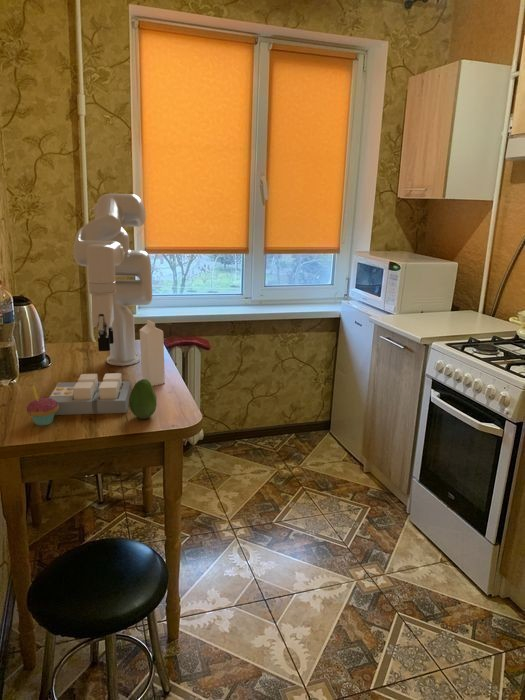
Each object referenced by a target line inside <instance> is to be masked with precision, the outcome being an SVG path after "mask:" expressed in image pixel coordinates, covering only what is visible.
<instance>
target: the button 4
mask: <svg viewBox="0 0 525 700" xmlns="http://www.w3.org/2000/svg"><path fill="white" fill-rule="evenodd" d="M100 382H101V385H100V387H99V394H100V399H118V398H119V385H118V382H103V381H100Z"/></svg>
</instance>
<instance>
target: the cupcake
mask: <svg viewBox="0 0 525 700" xmlns="http://www.w3.org/2000/svg"><path fill="white" fill-rule="evenodd" d="M31 386H32V387H31V388H32V391H33V394H34V397H35V399H33V400H31V401H30V402H29V403H28V404H27V406H26V407H25V409H26V412H27V414H28V415H29V416H31V418H32V420H33V422H34V424H35V425H36V426H48V425H50V424H52V423H53V422H54V417H55V415H54V414H55V413H56V412H57V411H58V410H59V405H58V402H56V401H55V400H54V399H51V398H49V397H39V396H38V393H37V389H36V387H35V385H34V384H33V383H31Z"/></svg>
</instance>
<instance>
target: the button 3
mask: <svg viewBox="0 0 525 700" xmlns="http://www.w3.org/2000/svg"><path fill="white" fill-rule="evenodd" d="M122 380H123V379H122V373H121V372H120V373H119V372H116V373H113V372H112V373H111V372H110V373H105V374H104V376H103V378H102V382H118V385H119V390H121V389H122Z"/></svg>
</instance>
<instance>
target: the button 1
mask: <svg viewBox="0 0 525 700" xmlns="http://www.w3.org/2000/svg"><path fill="white" fill-rule="evenodd" d="M77 382H93V384H94V390H97V389H98V382H99V377H98V373H81V374H80V376H79V377H78V379H77Z"/></svg>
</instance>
